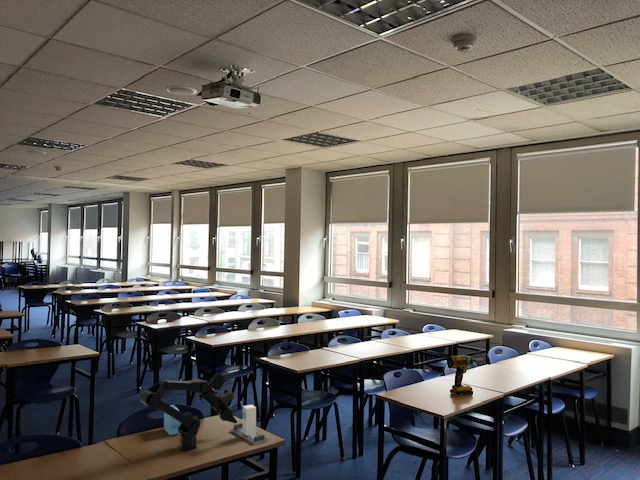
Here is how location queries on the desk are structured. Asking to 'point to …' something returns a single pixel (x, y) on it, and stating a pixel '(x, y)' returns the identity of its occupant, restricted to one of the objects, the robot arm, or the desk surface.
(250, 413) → the block
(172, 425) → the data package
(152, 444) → the desk surface
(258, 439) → the mounting plate
